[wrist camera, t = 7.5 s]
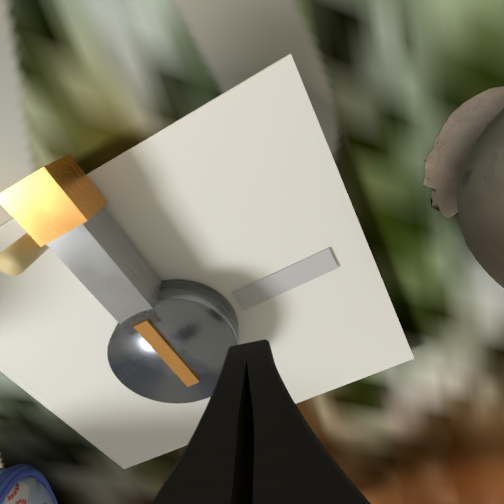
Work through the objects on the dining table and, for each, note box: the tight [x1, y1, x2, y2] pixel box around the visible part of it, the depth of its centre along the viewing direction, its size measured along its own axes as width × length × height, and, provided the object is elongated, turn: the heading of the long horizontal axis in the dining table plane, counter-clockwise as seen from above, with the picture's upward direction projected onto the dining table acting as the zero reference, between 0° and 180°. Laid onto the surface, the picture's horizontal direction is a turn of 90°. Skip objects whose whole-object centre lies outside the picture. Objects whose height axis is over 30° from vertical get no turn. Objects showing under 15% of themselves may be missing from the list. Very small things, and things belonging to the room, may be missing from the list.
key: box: [0, 155, 239, 404], centre depth 18 cm, size 15×7×3 cm, turn 28°
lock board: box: [0, 54, 414, 469], centre depth 20 cm, size 20×24×4 cm
